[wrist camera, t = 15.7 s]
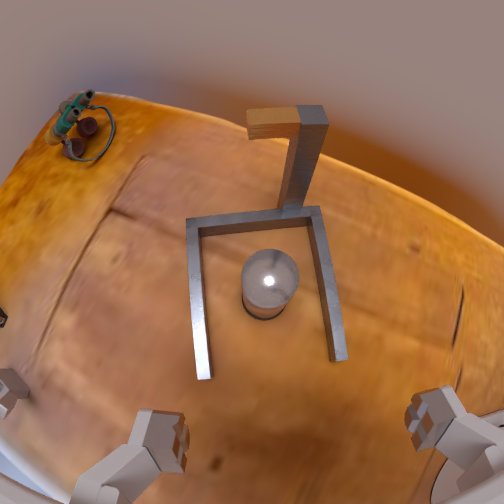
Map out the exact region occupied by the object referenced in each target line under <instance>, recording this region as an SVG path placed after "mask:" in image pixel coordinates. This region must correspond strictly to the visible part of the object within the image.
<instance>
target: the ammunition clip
mask: <svg viewBox="0 0 504 504" xmlns="http://www.w3.org/2000/svg"><path fill="white" fill-rule="evenodd" d="M7 317H8V316H7V315H6V314H5V313H4V312H3V310H2V309H1V308H0V327H4V324H5V322H6V320H7Z"/></svg>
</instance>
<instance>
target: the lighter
mask: <svg viewBox="0 0 504 504" xmlns="http://www.w3.org/2000/svg"><path fill="white" fill-rule="evenodd" d="M29 392H30V388H29V387H28V386H27V385H26V384H25V383H24V382H23V380H22V379H21V378H20V377H19V376H18V375H17V373H16V372H15V371H14V370H13V369H0V394H1V395H2V398H1V399H0V418H2V419H3V420H4V419H5V418H6V417H7V416H8V414H9V413H10V412H11V411H12V409H13V408H14V406H15V404H16V401H17V399H22V398H27V397H28V394H29Z"/></svg>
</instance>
